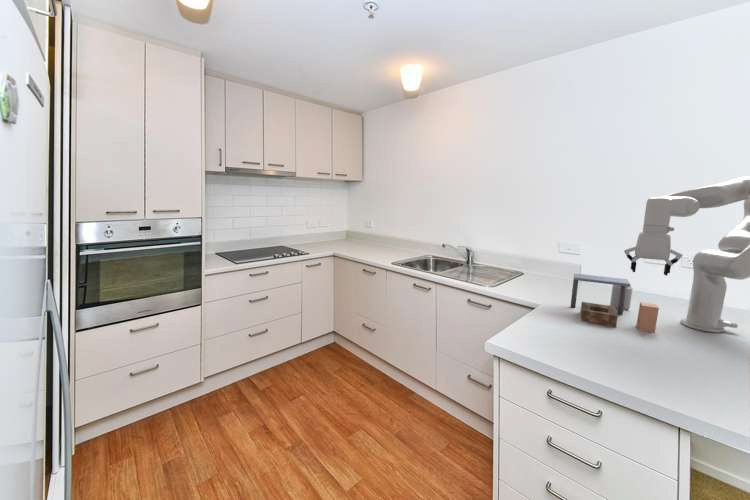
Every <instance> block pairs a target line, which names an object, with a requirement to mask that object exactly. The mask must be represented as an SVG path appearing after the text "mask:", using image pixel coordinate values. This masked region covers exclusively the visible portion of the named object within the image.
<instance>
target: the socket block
mask: <svg viewBox="0 0 750 500" xmlns="http://www.w3.org/2000/svg"><path fill="white" fill-rule="evenodd" d="M618 317H619V315H618V314H617V309H615V307H614V306H611V305H606V304H601V303H600V304H599V303H593V302H586V301H581V304H580V322H582V323H586V324H587V323H588V324H594V325H600V326H604V327H611V328H617V323H618Z"/></svg>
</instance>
